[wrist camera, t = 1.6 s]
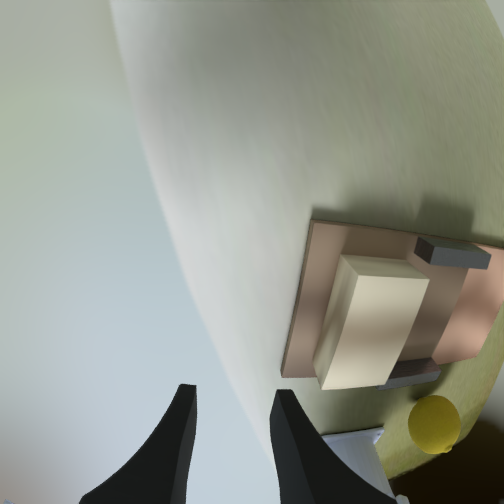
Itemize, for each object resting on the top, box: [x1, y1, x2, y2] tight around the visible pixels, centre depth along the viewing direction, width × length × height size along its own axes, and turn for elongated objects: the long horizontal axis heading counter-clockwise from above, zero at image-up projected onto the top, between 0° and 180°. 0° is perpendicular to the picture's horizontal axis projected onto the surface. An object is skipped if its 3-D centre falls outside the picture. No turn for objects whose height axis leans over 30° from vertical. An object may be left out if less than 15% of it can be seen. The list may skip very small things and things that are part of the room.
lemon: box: [408, 395, 461, 454], centre depth 21 cm, size 6×6×8 cm
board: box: [281, 219, 504, 378], centre depth 20 cm, size 12×22×1 cm, turn 84°
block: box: [312, 254, 430, 390], centre depth 17 cm, size 8×5×3 cm, turn 174°
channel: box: [375, 236, 492, 390], centre depth 18 cm, size 12×6×2 cm, turn 174°
